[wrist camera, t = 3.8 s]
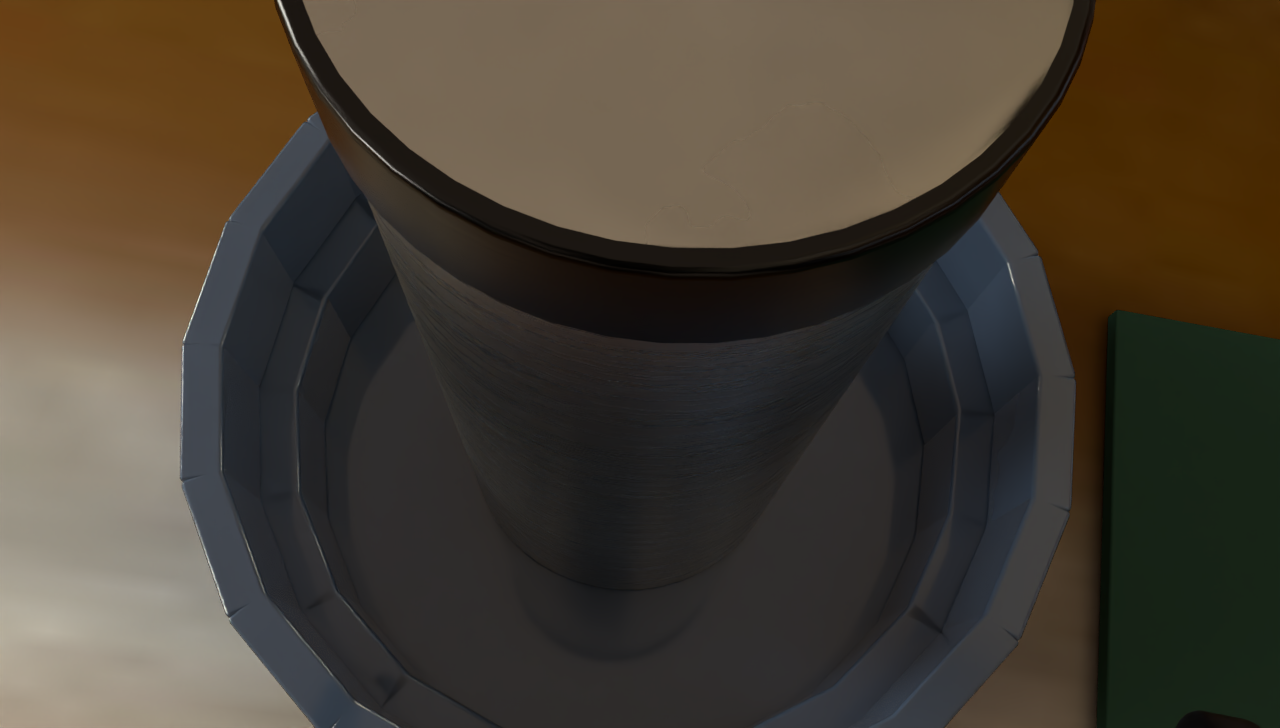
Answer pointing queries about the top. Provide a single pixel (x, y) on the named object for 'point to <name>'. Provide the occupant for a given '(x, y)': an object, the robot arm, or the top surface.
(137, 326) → the top surface
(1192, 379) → the mat
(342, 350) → the blue bowl
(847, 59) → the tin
